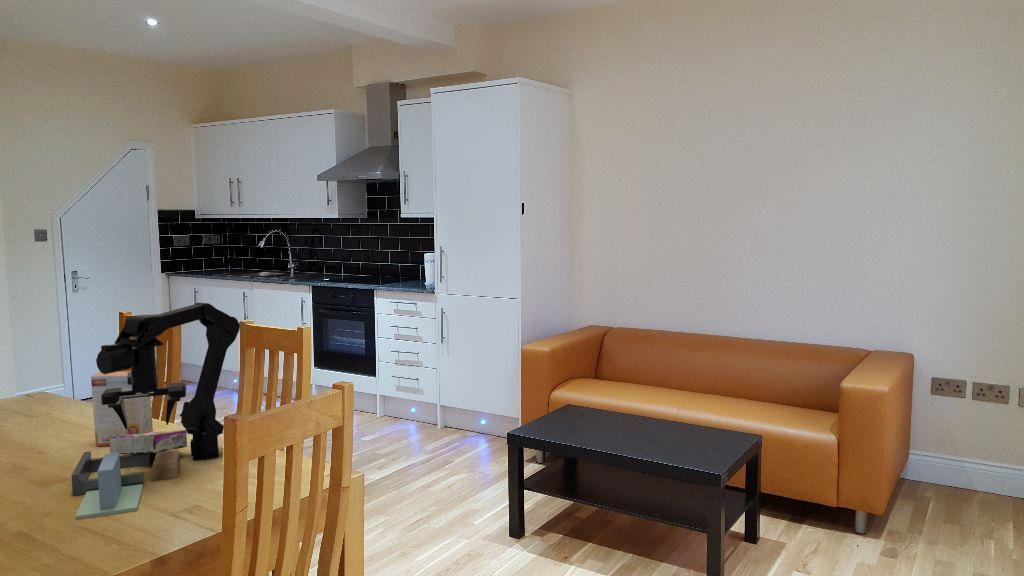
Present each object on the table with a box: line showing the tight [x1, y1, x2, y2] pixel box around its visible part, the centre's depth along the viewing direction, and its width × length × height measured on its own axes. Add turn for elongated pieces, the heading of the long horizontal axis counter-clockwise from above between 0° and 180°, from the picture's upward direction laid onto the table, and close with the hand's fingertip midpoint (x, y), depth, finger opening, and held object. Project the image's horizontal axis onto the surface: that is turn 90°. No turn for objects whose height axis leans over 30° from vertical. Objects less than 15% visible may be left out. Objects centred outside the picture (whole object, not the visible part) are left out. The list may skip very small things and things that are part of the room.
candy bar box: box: [109, 429, 188, 455], centre depth 196 cm, size 11×5×16 cm
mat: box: [75, 484, 144, 520], centre depth 167 cm, size 12×15×1 cm
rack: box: [70, 451, 151, 497], centre depth 182 cm, size 15×18×5 cm
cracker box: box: [90, 370, 154, 447], centre depth 208 cm, size 14×6×21 cm, turn 92°
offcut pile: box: [150, 449, 181, 482], centre depth 186 cm, size 6×12×4 cm, turn 22°
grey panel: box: [97, 453, 122, 510], centre depth 167 cm, size 3×12×9 cm, turn 22°
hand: (147, 426), depth 182 cm, fingers open, 9 cm apart
